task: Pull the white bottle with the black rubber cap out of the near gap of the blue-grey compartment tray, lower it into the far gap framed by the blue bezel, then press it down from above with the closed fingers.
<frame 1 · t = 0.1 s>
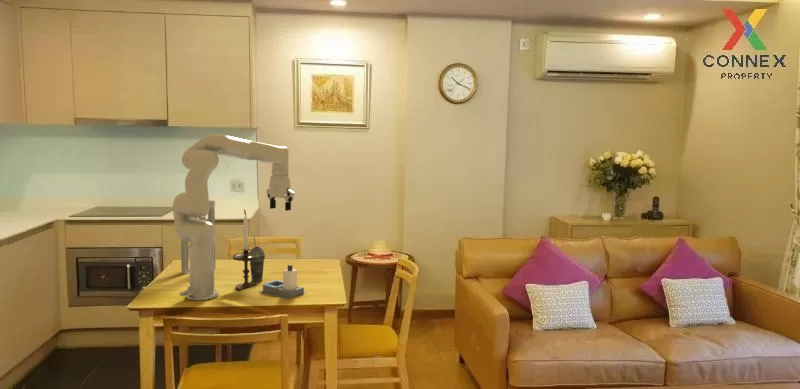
hand: (280, 209, 269), 31 cm above the table, tool pointing down, fingers open, 9 cm apart
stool: (198, 271, 274), on the table
blue-grey compartment tray: (283, 295, 239), on the table
white bottle: (290, 293, 237), point 1 cm above the table, touching blue-grey compartment tray
candlestick: (246, 288, 248), on the table
beverage cup: (257, 281, 260), on the table
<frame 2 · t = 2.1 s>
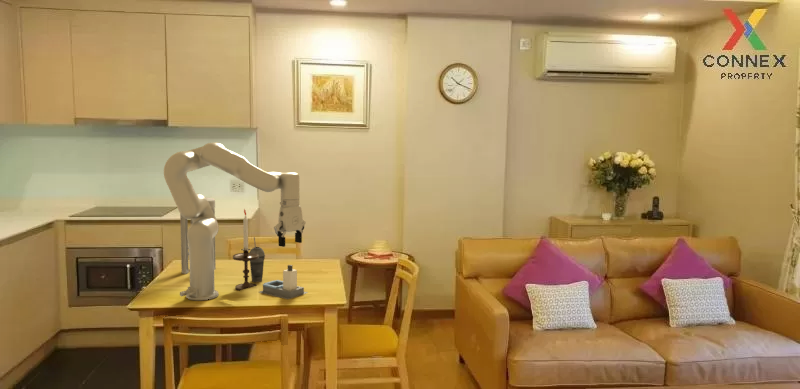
hand: (290, 244, 235), 22 cm above the table, tool pointing down, fingers open, 9 cm apart
nothing on the table moved.
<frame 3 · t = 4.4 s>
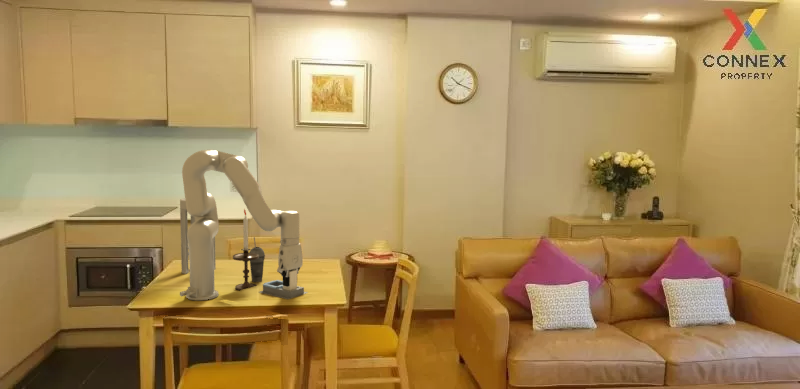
hand: (290, 284, 237), 5 cm above the table, tool pointing down, fingers closed on white bottle, 4 cm apart
white bottle: (290, 293, 237), point 1 cm above the table, touching blue-grey compartment tray, gripper
everything else where it was.
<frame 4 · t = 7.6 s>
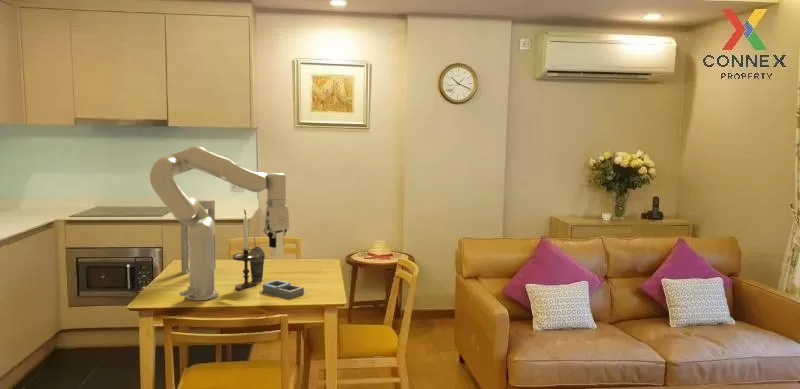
hand: (276, 245, 239), 20 cm above the table, tool pointing down, fingers closed on white bottle, 4 cm apart
white bottle: (276, 255, 240), point 16 cm above the table, touching gripper
everything else where it was.
when the fingers open (6 cm above the table, at t = 11.0 s): white bottle drops 1 cm, resting on blue-grey compartment tray.
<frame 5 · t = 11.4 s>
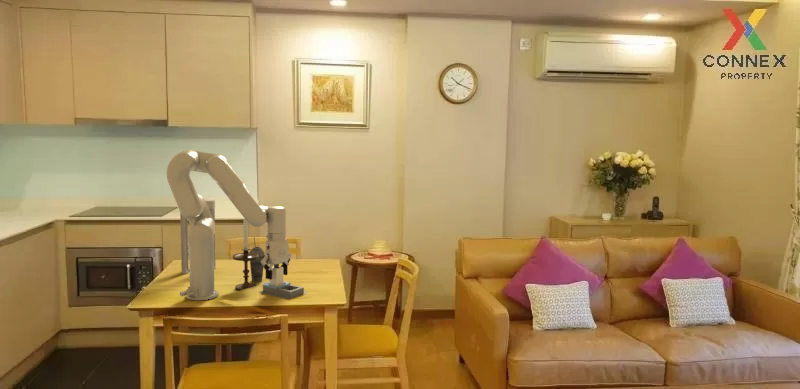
hand: (276, 276, 241), 7 cm above the table, tool pointing down, fingers open, 8 cm apart
white bottle: (276, 290, 241), point 1 cm above the table, touching blue-grey compartment tray
everything else where it was.
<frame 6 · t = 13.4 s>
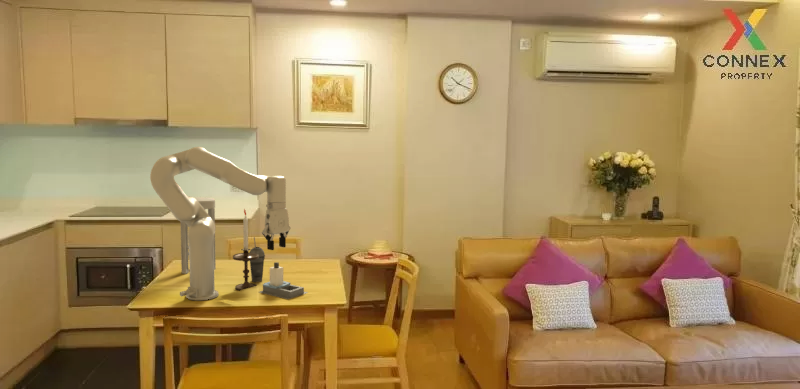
hand: (276, 247, 239), 20 cm above the table, tool pointing down, fingers open, 6 cm apart
nothing on the table moved.
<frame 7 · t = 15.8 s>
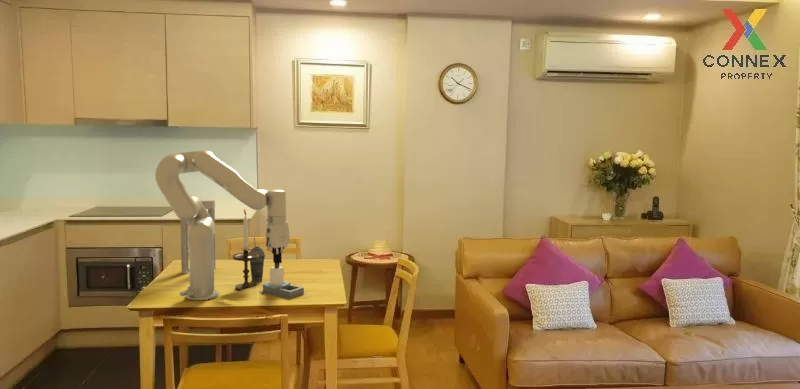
hand: (277, 262, 240), 13 cm above the table, tool pointing down, fingers closed
white bottle: (276, 290, 241), point 1 cm above the table, touching blue-grey compartment tray, gripper
everything else where it was.
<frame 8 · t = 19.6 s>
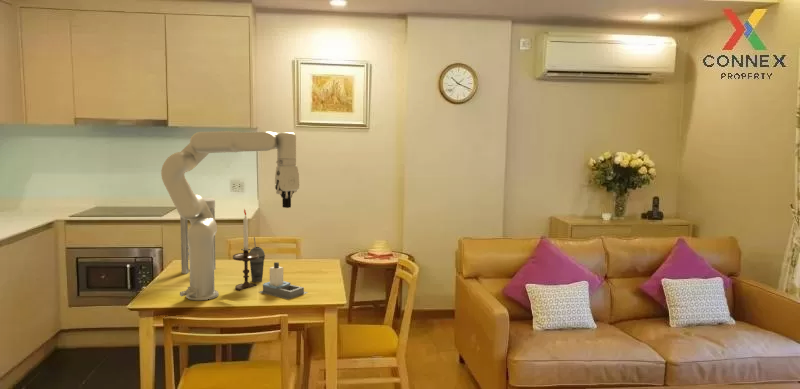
hand: (286, 207, 235), 37 cm above the table, tool pointing down, fingers closed
white bottle: (276, 290, 241), point 1 cm above the table, touching blue-grey compartment tray
everything else where it was.
at the end: white bottle 0.0 cm from the target spot on the blue-grey compartment tray, point 1.2 cm above the blue-grey compartment tray's base; white bottle tilted 0°; the gripper is holding nothing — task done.
